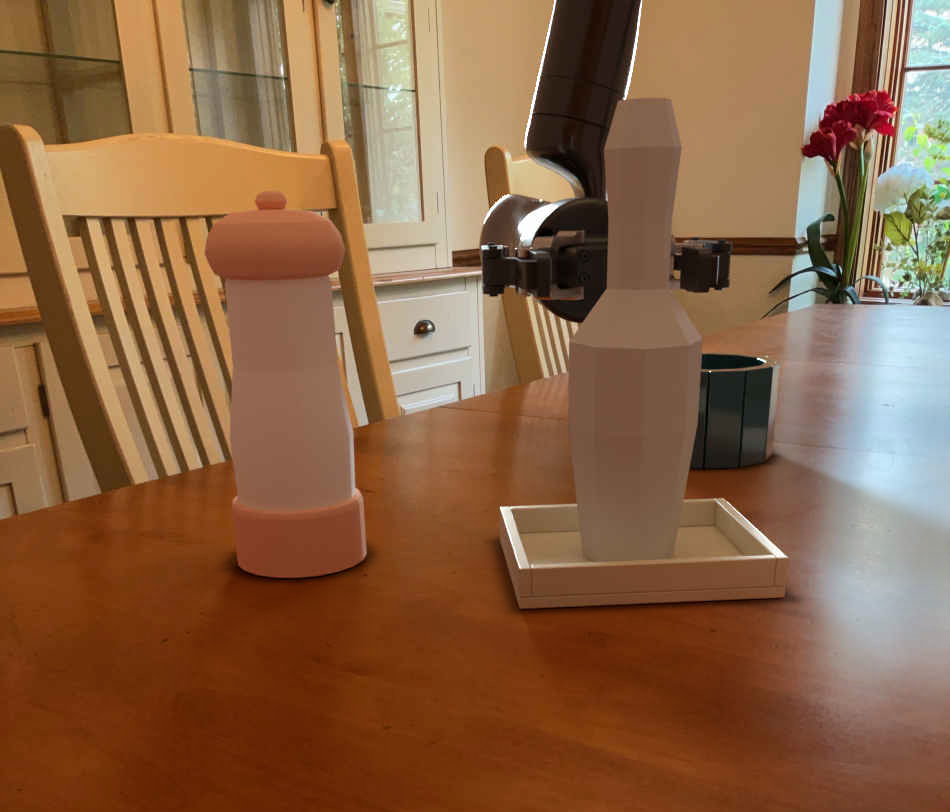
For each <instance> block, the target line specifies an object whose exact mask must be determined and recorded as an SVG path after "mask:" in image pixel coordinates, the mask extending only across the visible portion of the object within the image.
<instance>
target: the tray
mask: <svg viewBox="0 0 950 812" xmlns="http://www.w3.org/2000/svg"><path fill="white" fill-rule="evenodd" d="M499 541H500V545H501V549H502V552H503V554H504V555H503V556H504V559H505V563H506V567H507V570H508V574H509V576H510V579H511V584H512V587H513V591H514V594H515V598H516V601H517V604H518V608H519V609H520V610H527V609H528V610H529V609H553V608H572V607H573V608H575V607H597V606H617V605H620V606H621V605H645V604H665V603H687V602H688V603H689V602H691V603H692V602H708V601H709V602H711V601H712V602H713V601H735V600H757V599H779V598H785V594H786V585H787V584H786V583H787V575H788V573H787V572H788V563H789V557H788V556H787V555H786V554H785V553H784V552H782V550H780V549H779V547H777V546H776V545H775V544H774V543H773V542H772V541H770V540H769V539H768V538H767V537H766V536H765V535H764V534H763V533H762V532H761V531H759V529H758V528H756V527H755V526H754V524H752V523H751V522H750V521H749V520H748V519H747V518H746V517H745V516H744V515H743V514H741V513H740V512H739V511H738V510H737V509H736V508H735V507H734V506H732V504H730V502H728V501H727V500H726V499H725V498H724V497H718V498H717V497H715V498H690V499H683V505H682V510H681V516H680V521H679V526H678V532H677V537H676V543H675V548H674V554H673V555H672V556H671V557H670V558H669V559H659V560H635V561H611V562H593V561H591V560H589V559H587V558H585V557H583V553H582V544H581V535H580V526H579V518H578V509H577V503H559V504H537V505H536V504H535V505H533V504H532V505H511V506H509V505H508V506H507V505H506V506H500V507H499Z"/></svg>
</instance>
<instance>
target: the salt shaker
mask: <svg viewBox="0 0 950 812" xmlns="http://www.w3.org/2000/svg"><path fill="white" fill-rule="evenodd" d="M254 204H255V206H256V208H257V209H253V210H244V211H235V212H231V213H229V214H226V215H225V216H224V217H221V219H218V220H217V221H215V222H213V224H212V226H211V229H210V231H209V233H208V235H207V237H206V241H205V248H204V256H205V258H206V261H207V264H208V265H209V268H210V269H211V270H212V272H213V274H214V275H215V276H217V277H221V278H223V279H225V282H224V290H225V291H224V292H225V300H226V308H227V309H226V311H227V321H228V331H229V340H230V350H231V361H232V373H231V374H232V375H231V377H232V379H231V398H230V399H231V400H230V419H229V420H230V421H229V422H230V423H229V444H230V451H231V459H232V466H233V473H234V479H235V487H236V494H237V495H236V496H235V497H233V498H232V501H231V503H230V504H231V515H232V523H233V533H234V540H235V549H236V551H235V552H236V559H237V566H238V567H239V568H241V569H242V570H243V571H244V572H246V573H250V574H252V575H256V576H261V577H268V578H277V579H280V578H281V579H282V578H283V579H284V578H285V579H287V578H288V579H298V578H309V577H319V576H324V575H329V574H334V573H338V572H341V571H344V570H347V569H350V568H353V567H355V566H357V565H358V564H360V563H361V562H363V561H364V559H365V558H366V556H367V551H368V550H367V539H366V538H367V537H366V536H367V535H366V521H365V520H366V519H365V506H364V497H363V495H362V493H361V491H360V490H359V489H358V488H357V487H356V472H355V471H356V470H355V469H356V467H355V445H354V444H355V443H354V442H355V441H354V430H353V425H352V421H351V417H350V411H349V407H348V402H347V399H346V394H345V388H344V385H343V380H342V376H341V370H340V365H339V363H338V349H337V348H338V347H337V337H336V325H335V324H336V322H335V313H334V299H333V298H334V297H333V286H332V285H333V284H332V280H331V278H330V275H332V274H334V273H336V272H338V271H340V269H341V267H342V264H343V261H344V257H345V253H346V246H345V244H344V240H343V237H342V234H341V232H340V231H339V230H338V228H337V226H336V225H335V223H333V221H332V220H331V219H329V218H327V217H325V216H323V215H321V214H319V213H317V212H315V211H313V210H305V209H291V208H287V205H288V199H287V197H286V195H285V194H284V193H282V192H280V191H278V190H267V191H264V190H263V191H261V192H259V193H258V194H256V196H255V199H254Z"/></svg>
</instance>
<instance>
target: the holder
mask: <svg viewBox="0 0 950 812" xmlns="http://www.w3.org/2000/svg"><path fill="white" fill-rule="evenodd" d="M780 367H781V361H779V360H777V359H774V358H772V357H769V356H765V355H758V354H757V355H756V354H750V353H740V352H721V351H720V352H717V351H710V352H708V351H702V360H701V376H700V393H699V410H698V424H697V429H696V434H695V440H694V445H693V451H692V456H691V461H690V467H689V469H700V470H702V469H704V470H711V469H713V470H715V469H737V468H744V467H749V466H753V465H759V464H763V463H765V462H766V461H767V460H768V459H769V458H770V457H771V456H772V455H773V448H774V447H773V446H774V435H775V434H774V433H775V425H776V423H775V422H776V414H777V413H776V412H777V401H778V389H779V380H780V379H779V378H780V377H779V375H780Z"/></svg>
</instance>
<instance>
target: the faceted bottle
mask: <svg viewBox="0 0 950 812" xmlns="http://www.w3.org/2000/svg"><path fill="white" fill-rule="evenodd" d="M682 148H683V147H682V142H681V138H680V133H679V129H678V125H677V120H676V116H675V111H674V107H673V103H672V99H670V98H668V97H637V98H626V100H620V101H618V103H617V107H616V110H615V114H614V117H613V120H612V124H611V127H610V131H609V134H608V138H607V141H606V145H605V148H604V156H605V172H606V187H607V202H608V218H609V222H608V261H607V289H606V290H605V291H604V293H603V294H602V296H601V297H600V299H599V300H598V301H597V303H596V304H595V306H594V307H593V309H592V310H591V311H590V313H589V314H588V316H587V317H586V319H585V320H584V321H583V323H580V326H579V327H578V329H577V330H576V332H575V333H574V334H573V336H572V337H571V338H570V340H569V341H568V391H567V394H568V396H567V397H568V398H567V400H568V402H567V403H568V404H567V426H568V427H567V429H568V437H569V446H570V454H571V455H570V456H571V463H572V472H573V480H574V481H573V482H574V489H575V490H574V491H575V500H576V504H577V509H578V518H579V526H580V535H581V544H582V553H583V557H585V558H587V559H589V560H591V561H593V562H611V561H635V560H659V559H669V558H670V557H671V556H672V555H673V554H674V548H675V543H676V537H677V532H678V526H679V521H680V516H681V510H682V505H683V500H685V499H684V498H685V494H686V489H687V484H688V477H689V471H690V468H689V467H690V461H691V456H692V451H693V445H694V440H695V434H696V429H697V424H698V410H699V393H700V376H701V360H702V352H703V343H704V341H703V340H704V338H703V337H702V335H701V334H700V332H699V331H698V329H697V328H696V326H695V324H694V322H692V320H691V318H690V316H689V315H688V314H687V313H686V311H685V309H684V308H683V306H682V305H681V303H680V302H679V300H678V298H677V297H676V295H675V294H674V292H673V291H671V289H670V288H669V273H670V252H671V234H672V231H673V229H672V228H673V213H674V207H675V199H676V193H677V186H678V185H677V184H678V178H679V170H680V165H681V163H680V162H681V157H682V156H681V155H682Z"/></svg>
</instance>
